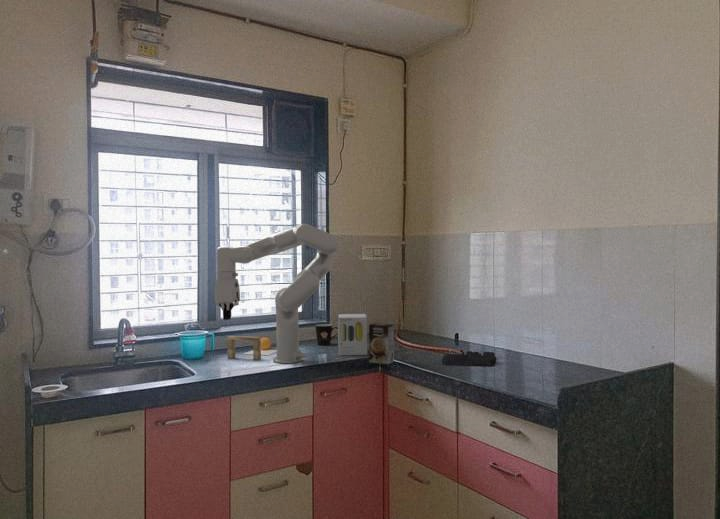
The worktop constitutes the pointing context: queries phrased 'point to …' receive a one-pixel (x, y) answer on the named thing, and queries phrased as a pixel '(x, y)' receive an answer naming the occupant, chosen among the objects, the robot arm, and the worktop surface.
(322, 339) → the coffee mug
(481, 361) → the dark slate chunk
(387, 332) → the coffee box
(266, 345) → the ball
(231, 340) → the bridge
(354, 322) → the supplement box
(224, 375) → the worktop surface
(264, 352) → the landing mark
